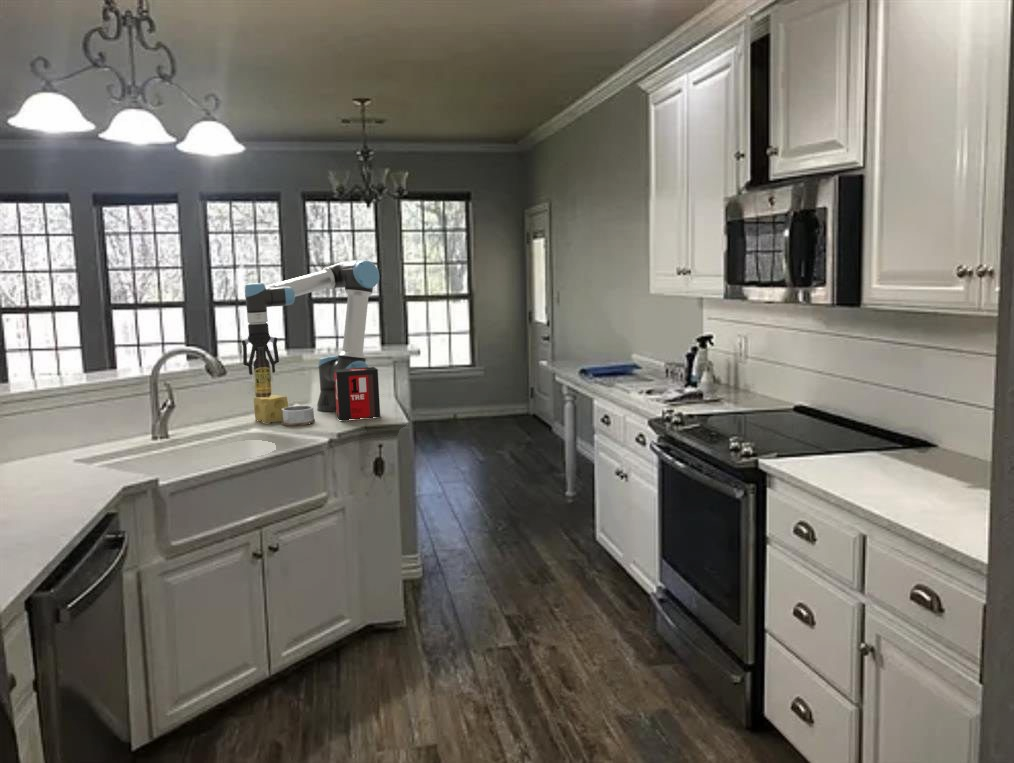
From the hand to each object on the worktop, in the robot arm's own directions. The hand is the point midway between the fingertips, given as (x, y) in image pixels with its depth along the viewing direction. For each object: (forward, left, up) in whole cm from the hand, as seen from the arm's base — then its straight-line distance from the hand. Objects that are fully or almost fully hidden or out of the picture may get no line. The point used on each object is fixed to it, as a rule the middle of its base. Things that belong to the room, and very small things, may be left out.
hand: (262, 381), depth 337 cm
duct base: (-13, -1, -18) cm, 22 cm away
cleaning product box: (-37, +1, -18) cm, 41 cm away
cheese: (-4, -13, -18) cm, 23 cm away
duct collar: (-13, -1, -18) cm, 22 cm away
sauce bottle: (0, 0, -6) cm, 6 cm away
